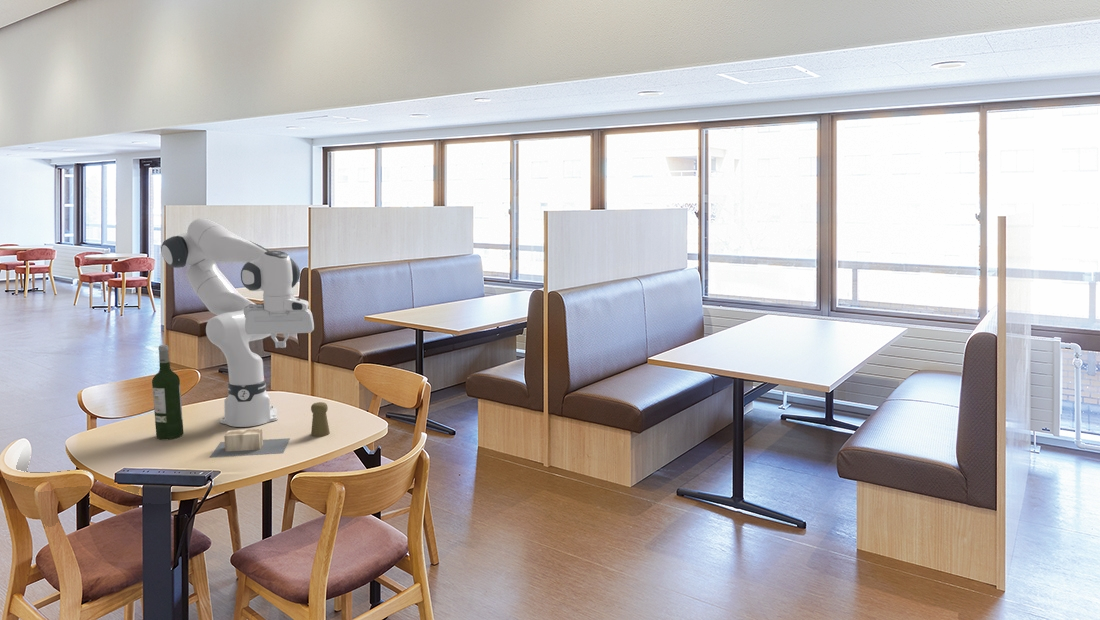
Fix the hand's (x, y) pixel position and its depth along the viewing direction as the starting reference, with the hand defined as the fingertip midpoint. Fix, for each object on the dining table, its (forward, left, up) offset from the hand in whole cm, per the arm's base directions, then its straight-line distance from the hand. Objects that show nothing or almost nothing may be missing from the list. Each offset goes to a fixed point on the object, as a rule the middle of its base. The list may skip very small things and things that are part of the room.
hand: (280, 347), depth 232 cm
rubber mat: (+6, -9, -31) cm, 33 cm away
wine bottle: (-12, -38, -31) cm, 50 cm away
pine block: (+6, -6, -28) cm, 29 cm away
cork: (-4, +10, -31) cm, 33 cm away
